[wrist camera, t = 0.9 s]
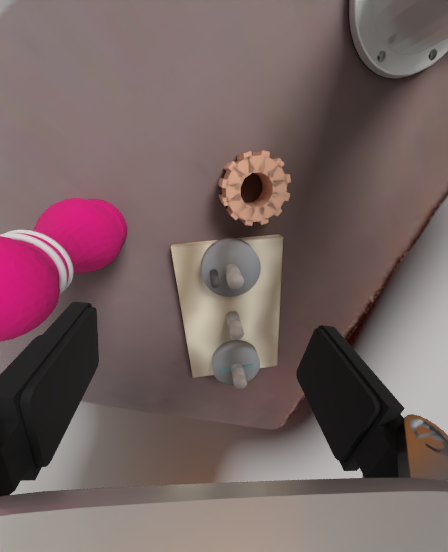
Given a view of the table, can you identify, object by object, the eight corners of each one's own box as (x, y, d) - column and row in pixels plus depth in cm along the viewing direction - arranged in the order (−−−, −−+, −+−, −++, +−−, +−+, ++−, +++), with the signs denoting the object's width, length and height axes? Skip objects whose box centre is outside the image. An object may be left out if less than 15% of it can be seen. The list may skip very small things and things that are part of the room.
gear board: (279, 229, 30) (300, 243, 24) (273, 361, 40) (287, 394, 34) (171, 239, 29) (165, 257, 23) (193, 373, 39) (193, 409, 33)
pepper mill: (142, 244, 29) (53, 370, 11) (88, 262, 29) (-90, 418, 11) (112, 185, 25) (-87, 220, 7) (52, 206, 26) (-284, 292, 8)
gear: (279, 151, 26) (292, 148, 22) (277, 216, 29) (288, 222, 25) (215, 155, 25) (219, 153, 22) (220, 221, 28) (224, 228, 25)
